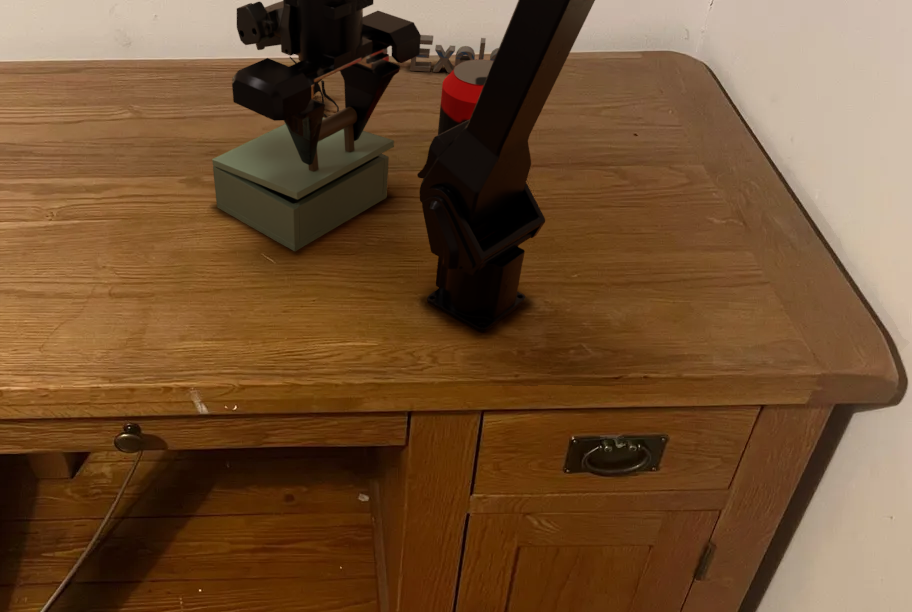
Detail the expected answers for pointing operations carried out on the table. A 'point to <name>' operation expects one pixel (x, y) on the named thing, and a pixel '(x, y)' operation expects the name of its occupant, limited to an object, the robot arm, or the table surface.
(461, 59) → the extruded letter logo
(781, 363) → the table surface
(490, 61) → the soda can
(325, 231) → the compartment
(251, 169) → the lid
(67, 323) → the table surface
